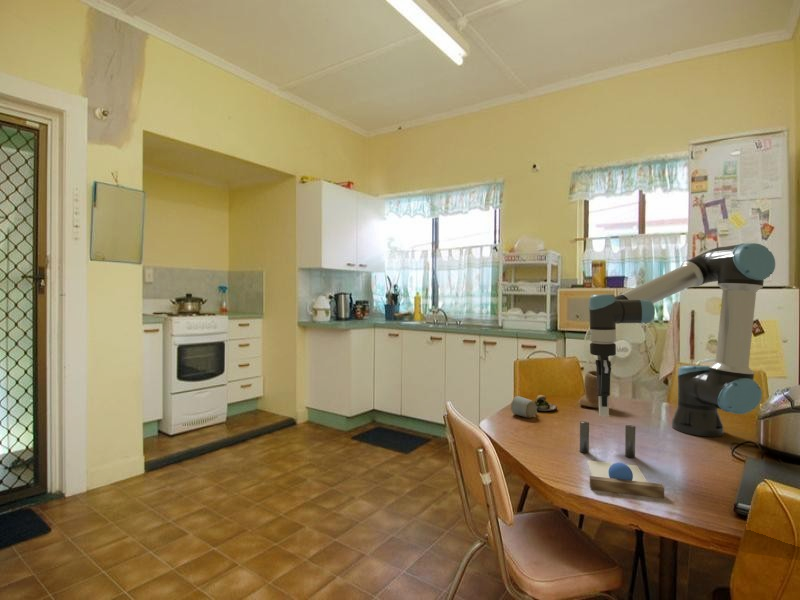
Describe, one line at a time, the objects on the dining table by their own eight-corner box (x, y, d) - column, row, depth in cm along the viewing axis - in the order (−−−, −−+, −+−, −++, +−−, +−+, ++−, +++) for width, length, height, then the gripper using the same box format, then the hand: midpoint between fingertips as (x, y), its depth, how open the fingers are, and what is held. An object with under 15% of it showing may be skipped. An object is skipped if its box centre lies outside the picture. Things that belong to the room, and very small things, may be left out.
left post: (588, 450, 133) (588, 421, 133) (589, 453, 130) (589, 424, 130) (579, 450, 133) (579, 421, 133) (580, 453, 131) (580, 423, 131)
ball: (629, 469, 112) (630, 458, 108) (634, 490, 108) (636, 479, 104) (605, 469, 113) (606, 458, 110) (610, 489, 109) (611, 478, 106)
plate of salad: (528, 412, 177) (529, 394, 177) (525, 405, 189) (526, 388, 189) (559, 414, 175) (559, 396, 175) (554, 407, 187) (554, 389, 186)
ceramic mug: (527, 420, 166) (527, 400, 166) (510, 415, 172) (510, 397, 172) (542, 416, 172) (542, 397, 172) (525, 411, 178) (525, 393, 178)
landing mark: (637, 466, 121) (637, 465, 121) (649, 485, 109) (649, 484, 109) (586, 460, 125) (586, 460, 125) (593, 479, 112) (593, 478, 112)
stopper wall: (661, 494, 104) (661, 484, 104) (664, 498, 102) (664, 487, 102) (589, 485, 108) (589, 475, 108) (590, 489, 106) (590, 479, 106)
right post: (633, 455, 129) (634, 425, 129) (636, 458, 127) (636, 428, 127) (624, 454, 130) (624, 424, 130) (626, 457, 127) (626, 427, 127)
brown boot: (606, 411, 178) (606, 375, 178) (575, 407, 185) (576, 372, 185) (612, 403, 191) (612, 370, 191) (583, 400, 198) (583, 367, 198)
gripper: (587, 340, 146) (588, 409, 146) (592, 344, 133) (594, 420, 133) (611, 340, 144) (612, 411, 144) (619, 345, 131) (621, 422, 131)
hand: (603, 415), depth 139 cm, fingers closed
